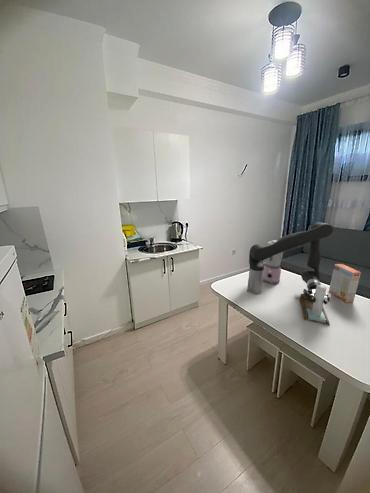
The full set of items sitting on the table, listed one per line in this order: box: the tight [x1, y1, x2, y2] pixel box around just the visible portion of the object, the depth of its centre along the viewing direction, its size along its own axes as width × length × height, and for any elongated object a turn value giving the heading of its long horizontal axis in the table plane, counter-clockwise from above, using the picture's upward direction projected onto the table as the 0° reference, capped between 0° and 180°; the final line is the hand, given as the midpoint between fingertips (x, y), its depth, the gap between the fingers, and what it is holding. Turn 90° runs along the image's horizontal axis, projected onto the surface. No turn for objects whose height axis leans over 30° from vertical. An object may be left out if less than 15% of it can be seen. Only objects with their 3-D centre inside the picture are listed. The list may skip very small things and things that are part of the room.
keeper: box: [306, 284, 328, 323], centre depth 111 cm, size 8×8×18 cm
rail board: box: [299, 293, 331, 326], centre depth 121 cm, size 12×24×4 cm, turn 157°
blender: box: [263, 239, 284, 285], centre depth 152 cm, size 16×12×32 cm
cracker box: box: [328, 263, 362, 304], centre depth 131 cm, size 14×6×21 cm, turn 4°
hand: (320, 301), depth 108 cm, fingers closed on keeper, 4 cm apart
